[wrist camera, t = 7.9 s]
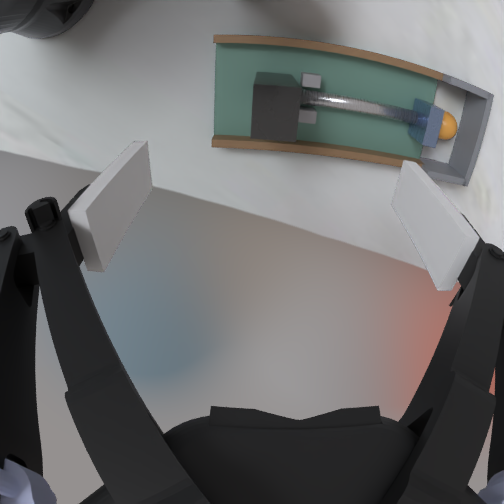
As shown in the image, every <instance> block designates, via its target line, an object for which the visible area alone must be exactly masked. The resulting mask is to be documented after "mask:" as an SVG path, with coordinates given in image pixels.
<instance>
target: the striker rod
mask: <svg viewBox="0 0 504 504" xmlns="http://www.w3.org/2000/svg"><path fill="white" fill-rule="evenodd" d="M300 104H304V105H312V106H320V107H327V108H334V109H341V110H347V111H353V112H359V113H364V114H369V115H374V116H379V117H384V118H389V119H393V120H398V121H402V122H406V123H410V124H409V128H408V134H410V135H411V136H412V137H413V138H415V139H416V140H417V141H418V142H419V143H420V144H422V145H425V146H429V147H433V148H435V147H436V144H437V140H438V136H439V132H440V128H441V124H442V120H443V116H444V112H445V111H444V110H443V109H441V108H439V107H437V106H435V105H433V104H431V103H430V102H428V101H424V100H421V99H417V98H415V101H414V106H413V110H410V109H406V108H402V107H398V106H394V105H390V104H385V103H381V102H376V101H371V100H366V99H361V98H356V97H350V96H344V95H338V94H332V93H325V92H318V91H311V90H302V87H301V86H300V85H299V83H298V82H297V81H296V80H295V78H294V77H293V76H292V74H281V73H269V72H257V73H256V77H255V80H254V84H253V100H252V117H251V135H250V139H263V140H276V141H288V142H296V138H297V129H298V120H299V111H300Z"/></svg>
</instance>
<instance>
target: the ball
mask: <svg viewBox="0 0 504 504" xmlns="http://www.w3.org/2000/svg"><path fill="white" fill-rule="evenodd" d="M456 132H457V122H456V120H455V118H454V117H453V116H452V114H450V113H449V112H446V111H445V112H444V116H443V120H442V124H441V128H440V132H439V136H438V138H440V139H443V140H448V139H451V138H452V137H454V136H455V134H456Z"/></svg>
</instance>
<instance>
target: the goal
mask: <svg viewBox="0 0 504 504" xmlns="http://www.w3.org/2000/svg"><path fill="white" fill-rule="evenodd" d="M442 81H444V82H447V83H449V84H452V85H455V86H457V87H460V88H462V89H465V90H467V95H466V100H465V105H464V109H463V113H462V117H461V121H460V125H459V129H458V133H457V137H456V140H455V144H454V147H453V151H452V154H451V158H450V161H449V164H447V163H443V162H439V161H435V160H431V159H426V158H422V157H420V160H421V161H422V162H423V163H424V164H425V165H423V164H422V167H421V168H422V169H423V170H424V171H425V173H426V174H427V175H428V176H429V177H430V178H431V179H436V180H441V181H446V182H450V183H455V184H459V185H463V186H468V184H469V181H470V178H471V175H472V172H473V169H474V166H475V163H476V160H477V157H478V154H479V151H480V147H481V144H482V141H483V137H484V134H485V130H486V126H487V122H488V119H489V115H490V110H491V106H492V102H493V97H494V95H493V94H491V93H489V92H487V91H485V90H483V89H480V88H478V87H476V86H474V85H471V84H469V83H467V82H464V81H462V80H459V79H457V78H454V77H452V76H449V75H446V74H443V79H442Z"/></svg>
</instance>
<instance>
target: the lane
mask: <svg viewBox="0 0 504 504" xmlns="http://www.w3.org/2000/svg"><path fill="white" fill-rule="evenodd" d="M213 43H216V63H215V109H214V136H213V138H212V147H220V148H242V149H259V150H272V151H285V152H295V153H306V154H315V155H324V156H332V157H340V158H347V159H354V160H361V161H368V162H374V163H380V164H386V165H392V166H397V167H402V164H403V161H404V160H407V161H412V162H416V163H417V164H418V165H419V166H420V167H422V164H423V165H425V164H424V163H423V162H422V161H421V160H420V155H421V151H422V148H423V145H422V144H420V143H419V142H418V141H417V140H416V139H415V138H413V137H412V136H411V135H410V134H408V128H409V124H410V123H406V122H402V121H398V120H393V119H389V118H384V117H379V116H374V115H369V114H364V113H359V112H353V111H347V110H341V109H334V108H327V107H320V106H312V105H304V104H300V111H299V120H298V129H297V138H296V142H288V141H276V140H263V139H250V135H251V117H252V100H253V84H254V80H255V77H256V73H257V72H269V73H281V74H292V76H293V77H294V78H295V80H296V81H297V82H298V83H299V85H300V86H301V87H302V90H311V91H318V92H325V93H332V94H338V95H344V96H350V97H356V98H361V99H366V100H371V101H376V102H381V103H385V104H390V105H394V106H398V107H402V108H406V109H410V110H413V106H414V101H415V98H417V99H421V100H424V101H428V102H430V103H431V104H433V102H434V97H435V92H436V87H437V81H438V79H439V80H441V81H442V79H443V73H440V72H437V71H435V70H432V69H429V68H426V67H423V66H420V65H417V64H414V63H410V62H407V61H404V60H400V59H397V58H393V57H389V56H386V55H382V54H378V53H374V52H369V51H365V50H360V49H356V48H351V47H346V46H341V45H335V44H329V43H323V42H316V41H309V40H301V39H293V38H283V37H271V36H254V35H214V42H213Z"/></svg>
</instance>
